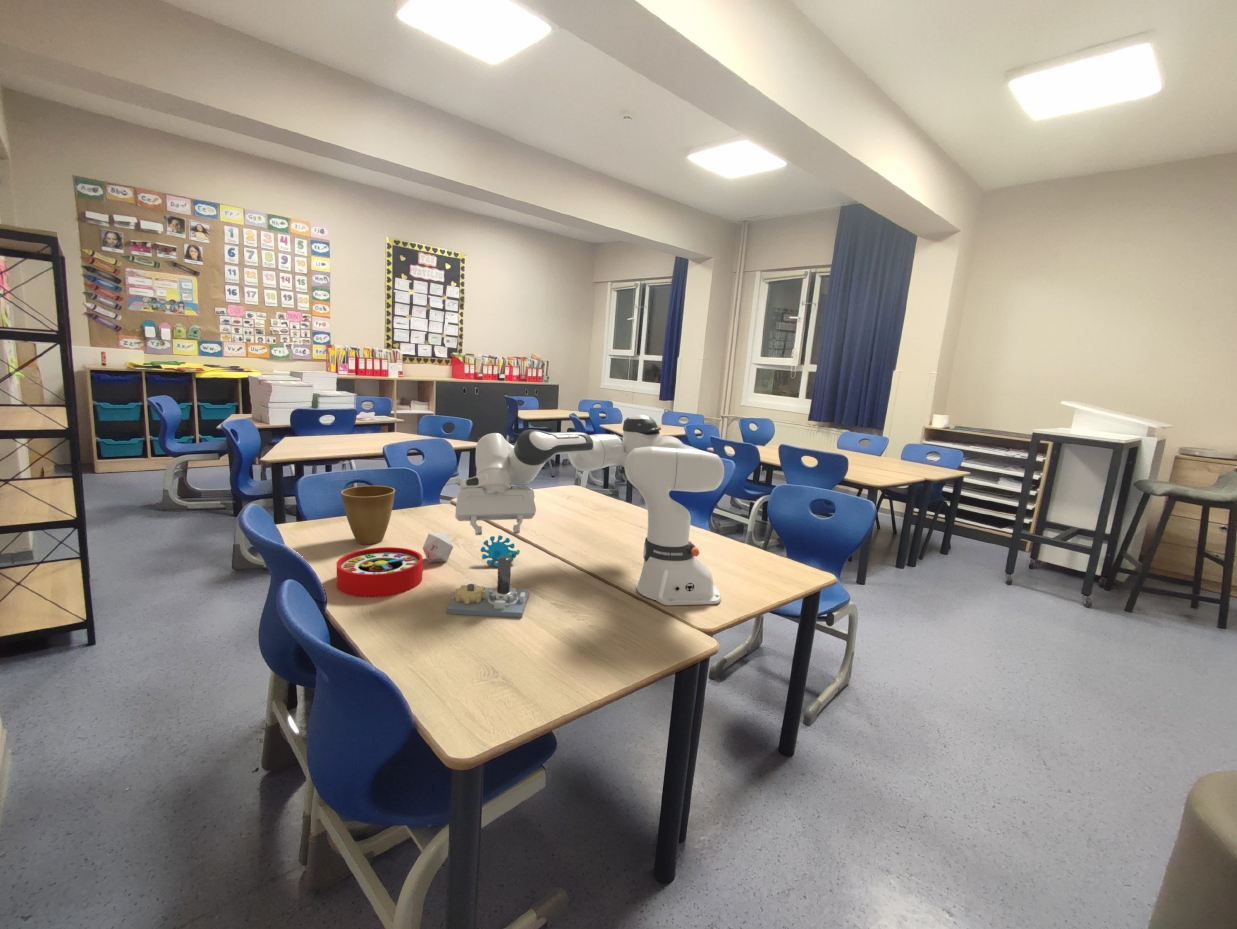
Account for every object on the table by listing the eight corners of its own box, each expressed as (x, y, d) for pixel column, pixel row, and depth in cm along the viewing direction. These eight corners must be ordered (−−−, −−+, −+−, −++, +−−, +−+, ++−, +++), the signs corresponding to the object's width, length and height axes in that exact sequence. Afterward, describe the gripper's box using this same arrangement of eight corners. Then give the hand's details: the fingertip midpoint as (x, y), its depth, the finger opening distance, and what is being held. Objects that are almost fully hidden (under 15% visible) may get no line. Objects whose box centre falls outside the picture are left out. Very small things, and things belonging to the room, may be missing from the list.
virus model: (478, 563, 148) (483, 531, 154) (476, 571, 152) (481, 540, 158) (518, 568, 151) (521, 537, 156) (515, 576, 155) (518, 545, 161)
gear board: (529, 594, 134) (530, 577, 133) (521, 617, 121) (522, 599, 120) (461, 590, 133) (462, 573, 132) (447, 613, 120) (447, 595, 120)
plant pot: (378, 530, 174) (378, 483, 171) (404, 541, 166) (404, 491, 163) (332, 539, 162) (331, 489, 159) (358, 552, 154) (357, 498, 151)
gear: (518, 593, 131) (520, 554, 129) (514, 605, 124) (516, 563, 122) (492, 592, 130) (493, 552, 129) (486, 603, 124) (487, 562, 122)
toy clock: (325, 555, 134) (403, 542, 148) (325, 577, 135) (403, 562, 149) (352, 581, 120) (436, 564, 134) (352, 605, 121) (435, 585, 135)
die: (415, 560, 152) (416, 541, 146) (434, 540, 158) (435, 520, 152) (440, 573, 152) (441, 555, 145) (457, 552, 158) (459, 534, 151)
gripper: (531, 492, 146) (536, 537, 139) (454, 493, 139) (455, 540, 132) (535, 480, 141) (541, 526, 134) (455, 480, 134) (457, 529, 127)
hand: (498, 533), depth 133 cm, fingers open, 8 cm apart
